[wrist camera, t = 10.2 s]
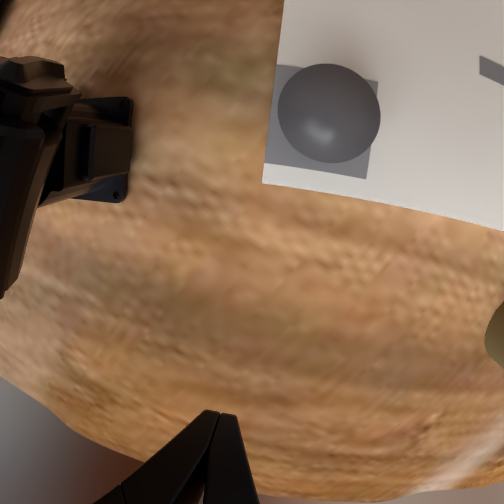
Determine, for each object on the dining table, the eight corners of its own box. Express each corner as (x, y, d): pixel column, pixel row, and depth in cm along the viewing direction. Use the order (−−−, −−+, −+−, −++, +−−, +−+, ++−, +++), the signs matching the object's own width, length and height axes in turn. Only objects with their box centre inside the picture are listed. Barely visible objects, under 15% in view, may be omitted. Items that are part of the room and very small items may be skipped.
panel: (265, 179, 17) (260, 184, 15) (296, -77, 12) (295, -99, 9) (531, 236, 16) (553, 247, 13) (539, 11, 10) (558, 3, 8)
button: (275, 154, 15) (271, 154, 12) (285, 74, 14) (283, 56, 11) (358, 167, 14) (373, 171, 12) (368, 88, 13) (384, 75, 10)
